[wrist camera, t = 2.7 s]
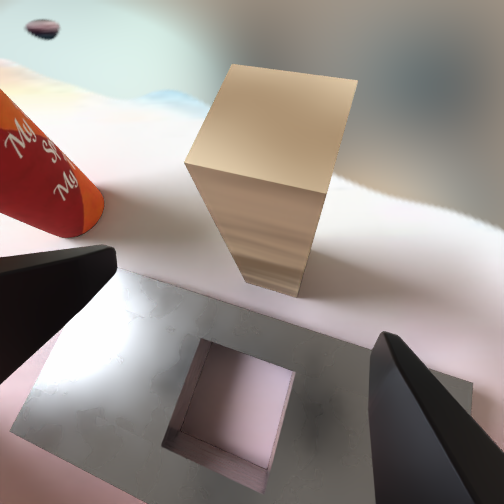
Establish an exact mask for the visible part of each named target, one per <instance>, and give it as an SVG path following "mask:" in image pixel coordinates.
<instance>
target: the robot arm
mask: <svg viewBox="0 0 504 504" xmlns="http://www.w3.org/2000/svg"><path fill="white" fill-rule="evenodd" d="M116 272H117V259H116V251H115V249H114V248H113V247H110V246H107V245H94V246H87V247H79V248H71V249H63V250H55V251H47V252H39V253H32V254H24V255H16V256H8V257H0V384H1V383H2V382H3V381H5V380H6V379H7V378H8V377H9V376H10V375H11V374H12V373H13V372H14V371H16V370H17V369H18V368H19V367H20V366H21V365H22V364H23V363H24V362H25V361H27V360H28V359H29V358H30V357H31V356H32V355H33V354H34V353H35V352H36V351H37V350H39V349H40V348H41V347H42V346H43V345H44V344H45V343H46V342H47V341H48V340H50V339H51V338H52V337H53V336H54V335H55V334H56V333H57V332H58V331H59V330H61V329H62V328H63V327H64V326H65V325H66V324H67V323H68V322H69V321H70V320H71V319H73V318H74V317H75V316H76V315H77V314H78V313H79V312H80V311H81V310H82V309H83V308H84V307H85V306H86V305H87V304H88V303H89V302H90V301H91V300H92V299H93V298H94V297H95V296H96V295H97V294H98V293H99V291H100V290H101V289H102V288H103V287H104V286H105V285H106V284H107V283H108V282H109V281H110V279H111V278H112V277H113V276H114V275H115V274H116ZM368 417H369V430H370V442H371V454H372V466H373V478H374V490H375V502H376V504H504V452H503V451H502V450H501V449H500V448H499V447H498V446H497V444H496V443H495V442H494V441H493V440H492V439H491V438H490V437H489V436H488V434H487V433H486V432H485V431H484V430H483V429H482V428H481V427H480V426H479V424H478V423H477V422H476V421H475V420H474V419H473V418H472V417H471V416H470V414H469V413H468V412H467V411H466V410H465V409H464V408H463V407H462V406H461V404H460V403H459V402H458V401H457V400H456V399H455V398H454V397H453V396H452V394H451V393H450V392H449V391H448V390H447V389H446V388H445V387H444V386H443V384H442V383H441V382H440V381H439V380H438V379H437V378H436V377H435V376H434V374H433V373H432V372H431V371H430V370H429V369H428V368H427V367H426V366H425V364H424V363H423V362H422V361H421V360H420V359H419V358H418V357H417V356H416V354H415V353H414V352H413V351H412V350H411V349H410V348H409V347H408V346H407V344H406V343H405V342H404V341H403V340H402V339H401V338H400V337H399V336H398V335H396V334H392V333H389V332H386V331H383V332H382V333H381V334H380V335H379V337H378V339H377V341H376V343H375V345H374V347H373V349H372V352H371V355H370V367H369V395H368Z"/></svg>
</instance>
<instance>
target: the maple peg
mask: <svg viewBox="0 0 504 504" xmlns="http://www.w3.org/2000/svg"><path fill="white" fill-rule="evenodd" d="M357 82H358V81H357V80H350V79H343V78H335V77H327V76H320V75H312V74H304V73H297V72H289V71H282V70H274V69H266V68H259V67H251V66H243V65H236V64H232V65H231V67H230V69H229V71H228V73H227V76H226V77H225V80H224V82H223V84H222V86H221V88H220V90H219V92H218V94H217V96H216V98H215V100H214V102H213V104H212V106H211V108H210V110H209V112H208V114H207V116H206V118H205V120H204V122H203V125H202V127H201V129H200V131H199V133H198V135H197V137H196V139H195V141H194V143H193V145H192V147H191V149H190V151H189V153H188V155H187V157H186V159H185V161H184V164H185V166H186V167H187V169H188V171H189V173H190V175H191V177H192V179H193V181H194V183H195V185H196V187H197V189H198V191H199V193H200V195H201V197H202V198H203V200H204V202H205V204H206V206H207V208H208V210H209V212H210V214H211V216H212V218H213V220H214V222H215V224H216V226H217V228H218V229H219V231H220V233H221V235H222V237H223V239H224V241H225V243H226V245H227V247H228V249H229V251H230V253H231V255H232V257H233V259H234V260H235V262H236V264H237V266H238V268H239V270H240V272H241V274H242V276H243V278H244V280H245V282H246V283H250V284H253V285H256V286H260V287H263V288H266V289H269V290H273V291H276V292H279V293H283V294H286V295H289V296H292V297H296V298H297V295H298V291H299V288H300V284H301V281H302V277H303V274H304V270H305V267H306V263H307V260H308V257H309V253H310V250H311V246H312V243H313V239H314V236H315V232H316V229H317V225H318V222H319V219H320V215H321V212H322V208H323V205H324V201H325V198H326V194H327V191H328V187H329V184H330V180H331V176H332V173H333V169H334V165H335V162H336V158H337V155H338V151H339V147H340V144H341V140H342V136H343V133H344V129H345V126H346V122H347V118H348V115H349V111H350V108H351V104H352V100H353V97H354V93H355V89H356V86H357Z"/></svg>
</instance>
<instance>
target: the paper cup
mask: <svg viewBox="0 0 504 504" xmlns="http://www.w3.org/2000/svg"><path fill="white" fill-rule="evenodd" d="M103 209H104V198H103V196H102V194H101V192H100V191H99V190H98V188H97V187H96V186H95V185H94V184H93V183H92V182H91V181H90V180H89V179H88V178H87V177H86V176H85V175H84V174H83V173H82V171H81V170H80V169H79V168H78V167H77V166H76V165H75V164H74V163H73V162H72V161H71V160H70V159H69V158H68V157H67V156H66V155H65V154H64V153H63V152H62V151H61V150H60V149H59V148H58V147H57V146H56V145H55V144H54V143H53V142H52V141H51V140H50V139H49V138H48V137H47V136H46V135H45V134H44V133H43V132H42V131H41V130H40V129H39V128H38V127H37V126H36V125H35V124H34V123H33V122H32V121H31V120H30V119H29V117H28V116H27V115H26V114H25V113H24V112H23V111H22V110H21V109H20V108H19V107H18V106H17V105H16V104H15V103H14V102H13V101H12V100H11V99H10V98H9V97H8V96H7V95H6V94H5V93H4V92H3V91H2V90H1V89H0V213H2V214H5V215H7V216H9V217H12V218H14V219H17V220H19V221H21V222H24V223H26V224H28V225H31V226H33V227H36V228H38V229H40V230H43V231H45V232H48V233H50V234H53V235H56V236H59V237H63V238H72V237H76V236H79V235H82V234H84V233H85V232H87V231H88V230H90V229H91V228H92V227H93V226H94V225H95V224H96V223H97V222H98V220H99V219H100V217H101V215H102V213H103Z"/></svg>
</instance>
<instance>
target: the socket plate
mask: <svg viewBox="0 0 504 504" xmlns="http://www.w3.org/2000/svg"><path fill="white" fill-rule="evenodd" d="M212 342H214V343H217V344H220V345H222V346H225V347H228V348H231V349H234V350H236V351H239V352H242V353H245V354H247V355H250V356H253V357H256V358H258V359H261V360H264V361H267V362H269V363H272V364H275V365H278V366H281V367H283V368H286V369H289V370H292V371H293V373H292V376H291V380H290V384H289V388H288V392H287V396H286V400H285V403H284V407H283V411H282V415H281V419H280V423H279V426H278V430H277V434H276V438H275V442H274V446H273V450H272V453H271V457H270V461H269V465H268V469H267V470H266V469H264V468H261V467H259V466H257V465H255V464H252V463H250V462H248V461H246V460H243V459H241V458H239V457H237V456H234V455H232V454H230V453H228V452H226V451H223V450H221V449H219V448H217V447H214V446H212V445H210V444H208V443H205V442H203V441H201V440H199V439H196V438H194V437H192V436H190V435H187V434H185V433H183V432H181V431H180V429H181V426H182V423H183V421H184V418H185V415H186V412H187V409H188V407H189V404H190V401H191V398H192V396H193V393H194V390H195V387H196V384H197V382H198V379H199V376H200V373H201V370H202V368H203V365H204V362H205V359H206V357H207V354H208V351H209V348H210V345H211V343H212ZM371 352H372V350H370V349H367V348H364V347H361V346H358V345H355V344H352V343H348V342H345V341H342V340H339V339H336V338H333V337H330V336H327V335H324V334H321V333H318V332H315V331H312V330H309V329H305V328H302V327H299V326H296V325H293V324H290V323H287V322H284V321H281V320H278V319H275V318H272V317H269V316H266V315H263V314H259V313H256V312H253V311H250V310H247V309H244V308H241V307H238V306H235V305H232V304H229V303H226V302H223V301H220V300H216V299H213V298H210V297H207V296H204V295H201V294H198V293H195V292H192V291H189V290H186V289H183V288H180V287H177V286H173V285H170V284H167V283H164V282H161V281H158V280H155V279H152V278H149V277H146V276H143V275H140V274H137V273H134V272H131V271H127V270H124V269H121V268H118V267H117V272H116V274H115V275H114V276H113V277H112V278H111V279H110V281H109V282H108V283H107V284H106V285H105V286H104V287H103V288H102V289H101V290H100V291H99V293H98V294H97V295H96V296H95V297H94V298H93V299H92V300H91V301H90V302H89V303H88V304H87V305H86V306H85V307H84V308H83V309H82V310H81V311H80V312H79V313H78V314H77V315H76V316H75V317H74V318H73V319H71V320H70V321H69V322H68V323H67V324H66V326H65V328H64V330H63V331H62V333H61V335H60V337H59V339H58V341H57V343H56V345H55V347H54V348H53V350H52V352H51V354H50V356H49V358H48V360H47V362H46V363H45V365H44V367H43V369H42V371H41V373H40V375H39V377H38V378H37V380H36V382H35V384H34V386H33V388H32V390H31V392H30V393H29V395H28V397H27V399H26V401H25V403H24V405H23V407H22V409H21V410H20V412H19V414H18V416H17V418H16V420H15V422H14V424H13V425H12V427H11V429H10V432H12V433H14V434H15V435H17V436H19V437H21V438H23V439H25V440H27V441H29V442H31V443H33V444H35V445H36V446H38V447H40V448H42V449H44V450H46V451H48V452H50V453H52V454H54V455H56V456H58V457H59V458H61V459H63V460H65V461H67V462H69V463H71V464H73V465H75V466H77V467H79V468H81V469H82V470H84V471H86V472H88V473H90V474H92V475H94V476H96V477H98V478H100V479H102V480H104V481H105V482H107V483H109V484H111V485H113V486H115V487H117V488H119V489H121V490H123V491H125V492H127V493H128V494H130V495H132V496H134V497H136V498H138V499H140V500H142V501H144V502H146V503H148V504H376V502H375V490H374V478H373V466H372V454H371V442H370V430H369V417H368V395H369V367H370V355H371ZM429 370H430V371H431V372H432V373H433V374H434V376H435V377H436V378H437V379H438V380H439V381H440V382H441V383H442V384H443V386H444V387H445V388H446V389H447V390H448V391H449V392H450V393H451V394H452V396H453V397H454V398H455V399H456V400H457V401H458V402H459V403H460V404H461V406H462V407H463V408H464V409H465V410H466V411H467V412H468V413H469V414H470V416H471V407H472V391H473V383H471V382H468V381H465V380H462V379H459V378H456V377H453V376H450V375H447V374H444V373H441V372H437V371H434V370H431V369H429Z"/></svg>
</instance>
